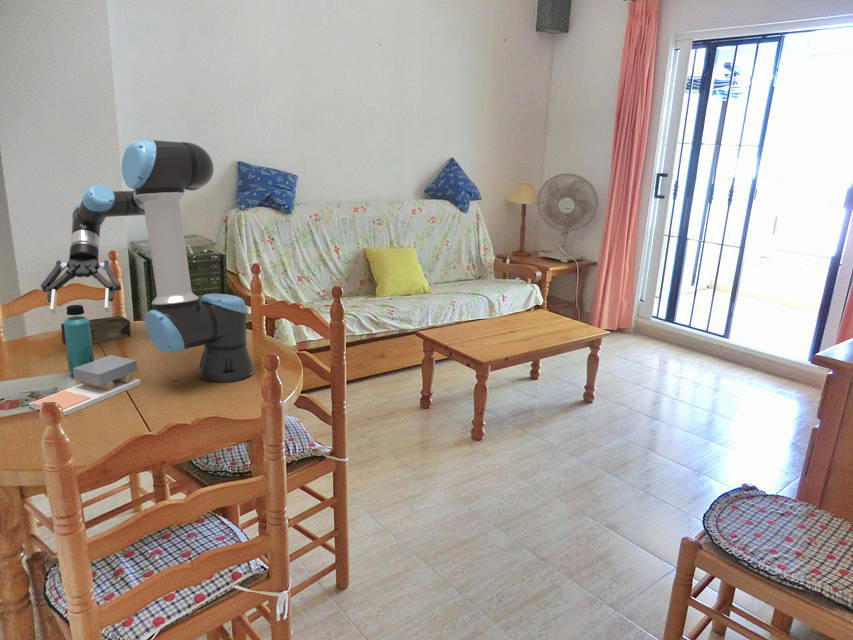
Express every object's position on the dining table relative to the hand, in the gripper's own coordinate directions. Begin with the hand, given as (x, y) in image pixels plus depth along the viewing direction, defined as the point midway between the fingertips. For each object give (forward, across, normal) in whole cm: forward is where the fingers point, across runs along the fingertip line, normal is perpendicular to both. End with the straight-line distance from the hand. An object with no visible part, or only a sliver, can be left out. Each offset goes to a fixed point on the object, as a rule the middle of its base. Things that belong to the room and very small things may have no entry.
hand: (80, 310), depth 174 cm
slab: (+23, -8, +5) cm, 25 cm away
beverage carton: (-6, +1, -30) cm, 30 cm away
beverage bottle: (+18, 0, -6) cm, 19 cm away
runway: (+28, -4, +5) cm, 29 cm away
